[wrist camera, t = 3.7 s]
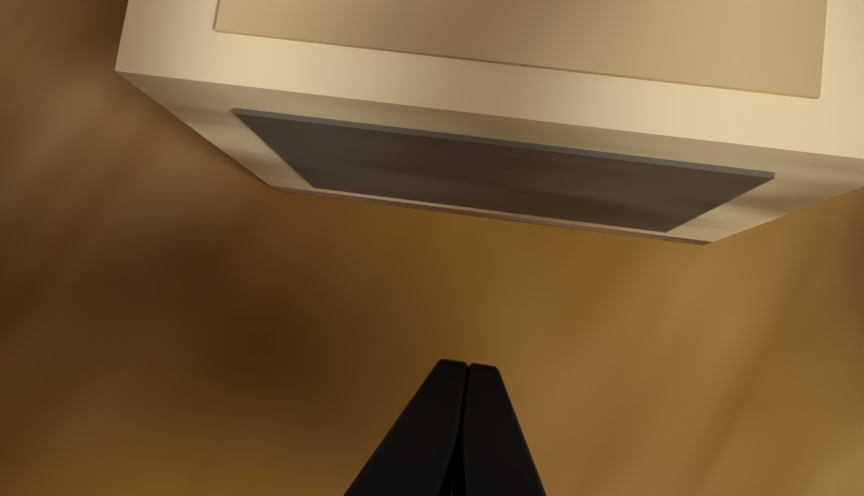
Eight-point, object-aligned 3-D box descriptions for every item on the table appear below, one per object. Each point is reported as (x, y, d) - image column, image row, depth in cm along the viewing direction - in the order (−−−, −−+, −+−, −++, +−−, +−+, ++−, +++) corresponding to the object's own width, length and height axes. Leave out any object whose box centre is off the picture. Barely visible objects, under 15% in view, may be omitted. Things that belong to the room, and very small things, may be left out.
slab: (715, 106, 19) (939, -99, 10) (702, 249, 18) (925, 170, 9) (299, 58, 20) (159, -171, 11) (276, 194, 19) (109, 74, 10)
